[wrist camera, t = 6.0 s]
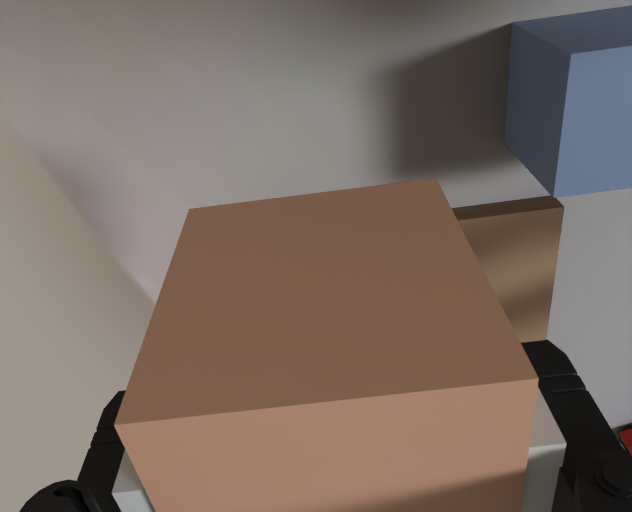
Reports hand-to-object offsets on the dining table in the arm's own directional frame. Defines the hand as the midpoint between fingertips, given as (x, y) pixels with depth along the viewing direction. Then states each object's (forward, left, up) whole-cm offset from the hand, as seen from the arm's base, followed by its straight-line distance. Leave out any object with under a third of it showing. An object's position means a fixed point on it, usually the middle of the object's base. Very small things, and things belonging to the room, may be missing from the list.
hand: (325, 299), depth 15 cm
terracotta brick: (0, 0, 0) cm, 0 cm away
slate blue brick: (0, +14, -17) cm, 22 cm away
